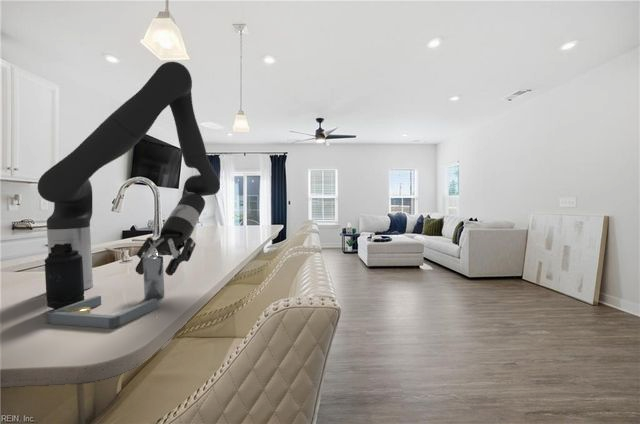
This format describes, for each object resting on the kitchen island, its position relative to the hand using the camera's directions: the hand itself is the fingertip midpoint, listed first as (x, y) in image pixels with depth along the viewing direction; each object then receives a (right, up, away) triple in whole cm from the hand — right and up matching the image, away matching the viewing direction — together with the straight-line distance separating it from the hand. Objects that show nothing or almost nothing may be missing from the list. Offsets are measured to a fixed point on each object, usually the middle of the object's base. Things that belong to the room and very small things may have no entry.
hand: (153, 273), depth 75 cm
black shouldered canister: (-17, -7, -6) cm, 19 cm away
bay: (-4, -7, -10) cm, 13 cm away
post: (0, -6, 0) cm, 6 cm away
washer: (-9, -7, -12) cm, 16 cm away
